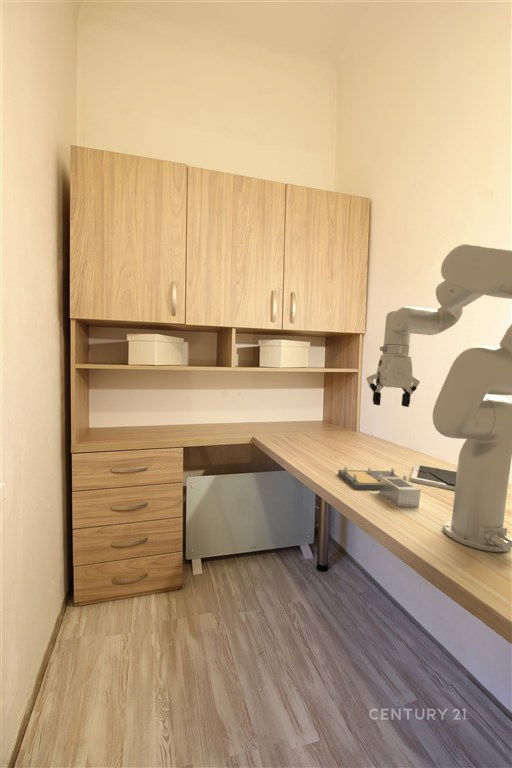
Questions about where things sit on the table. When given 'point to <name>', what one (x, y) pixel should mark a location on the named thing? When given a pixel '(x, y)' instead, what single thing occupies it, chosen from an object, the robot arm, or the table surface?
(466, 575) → the table surface
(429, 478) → the picture frame
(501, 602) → the table surface
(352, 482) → the tray
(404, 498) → the block
